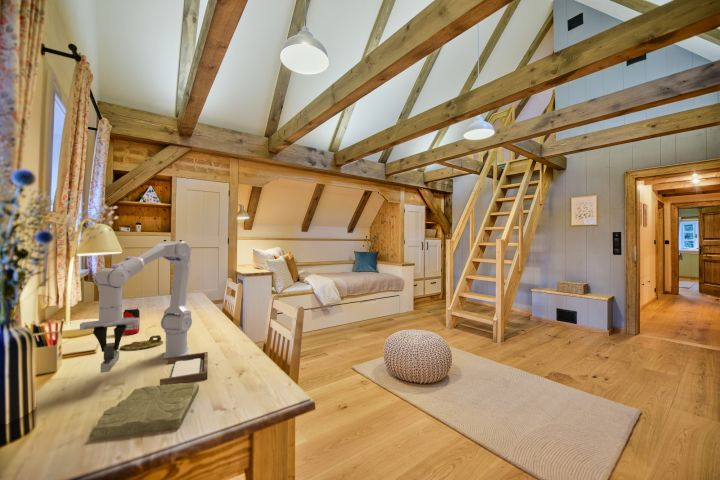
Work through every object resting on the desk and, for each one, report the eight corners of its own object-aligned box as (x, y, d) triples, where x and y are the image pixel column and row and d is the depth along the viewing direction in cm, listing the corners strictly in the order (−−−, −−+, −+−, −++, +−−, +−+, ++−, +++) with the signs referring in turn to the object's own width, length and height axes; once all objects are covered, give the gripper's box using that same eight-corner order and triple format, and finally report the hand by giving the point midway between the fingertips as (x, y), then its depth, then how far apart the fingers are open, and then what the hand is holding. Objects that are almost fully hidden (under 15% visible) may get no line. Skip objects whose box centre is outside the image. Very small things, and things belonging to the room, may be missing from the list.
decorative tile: (199, 391, 94) (199, 379, 94) (180, 430, 75) (180, 415, 75) (127, 399, 89) (127, 387, 89) (86, 443, 70) (86, 427, 70)
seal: (117, 356, 125) (162, 349, 132) (117, 345, 124) (162, 338, 132) (121, 347, 133) (163, 340, 140) (120, 336, 132) (163, 330, 140)
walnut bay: (167, 362, 115) (167, 357, 115) (207, 357, 121) (207, 351, 121) (159, 386, 96) (159, 380, 96) (207, 378, 102) (207, 372, 102)
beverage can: (142, 332, 153) (142, 307, 154) (130, 335, 147) (130, 310, 147) (132, 331, 155) (132, 306, 155) (119, 334, 149) (119, 309, 149)
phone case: (200, 379, 103) (202, 361, 117) (200, 374, 103) (202, 357, 117) (168, 385, 99) (174, 365, 113) (168, 379, 99) (174, 361, 113)
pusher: (110, 359, 104) (110, 339, 104) (120, 358, 105) (120, 338, 105) (99, 373, 93) (99, 350, 93) (110, 371, 94) (110, 349, 95)
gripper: (76, 311, 93) (75, 357, 93) (136, 307, 99) (135, 350, 99) (84, 306, 99) (84, 350, 99) (140, 303, 105) (140, 344, 105)
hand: (110, 350), depth 99 cm, fingers closed on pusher, 2 cm apart
